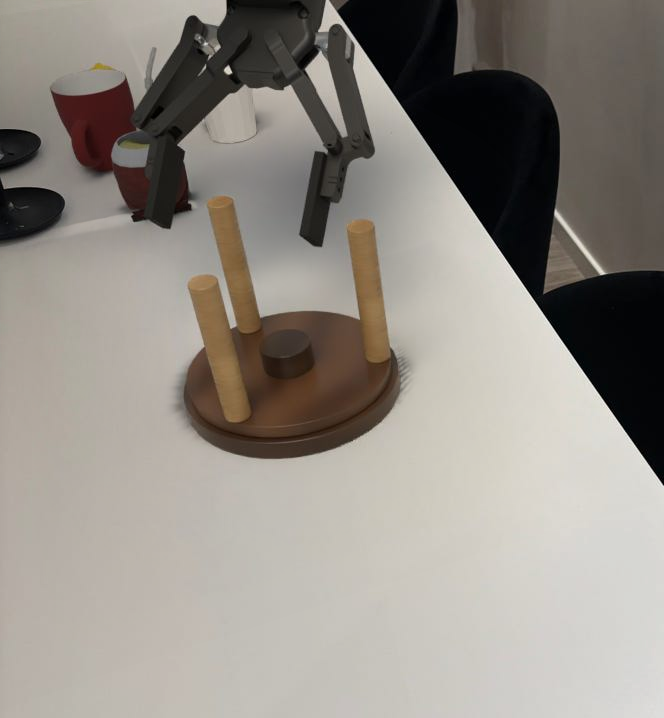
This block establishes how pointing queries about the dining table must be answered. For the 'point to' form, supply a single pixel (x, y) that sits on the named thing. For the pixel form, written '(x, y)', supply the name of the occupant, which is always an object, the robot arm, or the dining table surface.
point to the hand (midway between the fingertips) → (232, 232)
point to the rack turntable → (285, 345)
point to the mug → (94, 113)
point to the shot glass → (232, 117)
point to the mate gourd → (141, 165)
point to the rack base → (305, 442)
